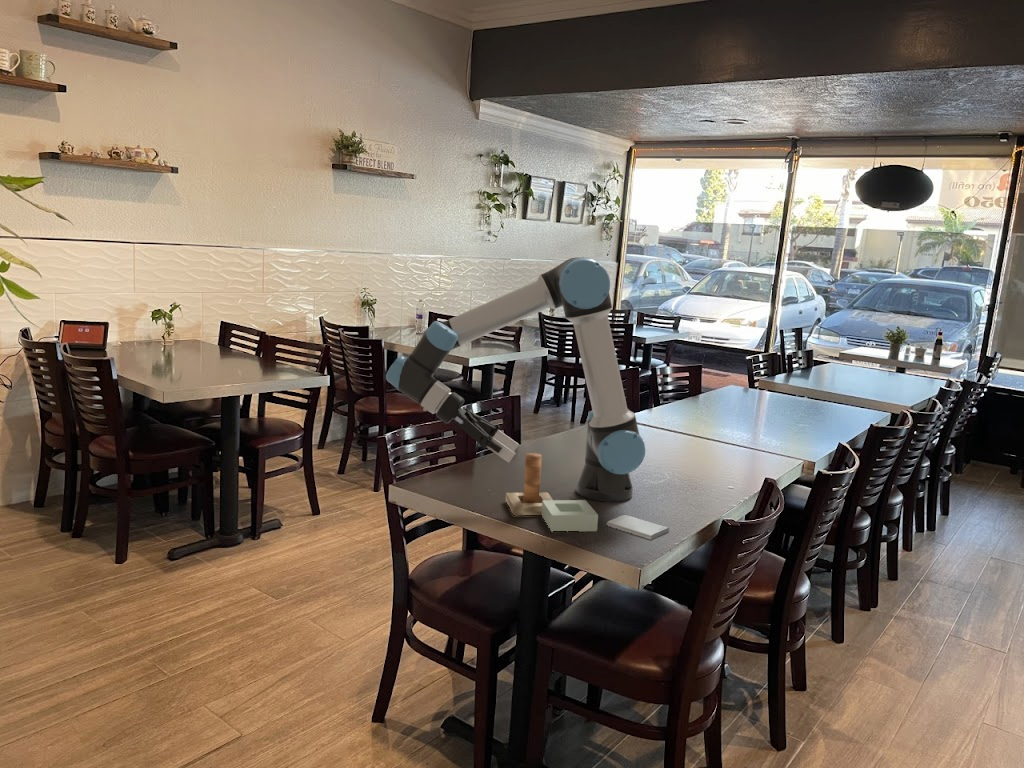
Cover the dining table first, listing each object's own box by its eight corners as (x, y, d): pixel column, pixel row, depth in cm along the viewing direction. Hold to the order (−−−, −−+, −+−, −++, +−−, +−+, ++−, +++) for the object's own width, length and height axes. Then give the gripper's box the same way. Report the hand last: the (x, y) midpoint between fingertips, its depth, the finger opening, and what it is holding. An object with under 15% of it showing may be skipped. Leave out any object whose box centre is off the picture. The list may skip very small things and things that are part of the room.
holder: (547, 501, 204) (547, 492, 204) (556, 515, 194) (557, 506, 193) (505, 502, 202) (505, 492, 202) (513, 516, 192) (513, 506, 191)
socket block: (584, 515, 195) (585, 500, 194) (596, 531, 184) (598, 514, 184) (541, 516, 193) (542, 500, 192) (551, 531, 182) (552, 515, 182)
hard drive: (669, 527, 186) (625, 513, 194) (651, 535, 180) (606, 521, 188) (668, 533, 187) (625, 520, 195) (650, 542, 181) (606, 527, 189)
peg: (536, 506, 200) (539, 453, 198) (540, 511, 196) (543, 457, 194) (521, 506, 199) (524, 452, 197) (524, 511, 196) (527, 457, 193)
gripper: (443, 409, 205) (509, 457, 204) (425, 421, 180) (500, 475, 180) (459, 386, 204) (526, 433, 204) (443, 395, 179) (519, 449, 179)
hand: (514, 453), depth 192 cm, fingers open, 13 cm apart
